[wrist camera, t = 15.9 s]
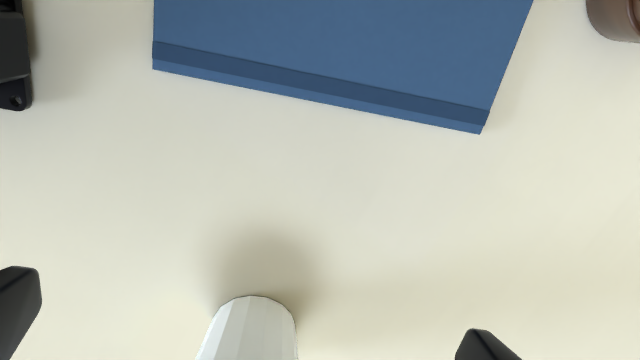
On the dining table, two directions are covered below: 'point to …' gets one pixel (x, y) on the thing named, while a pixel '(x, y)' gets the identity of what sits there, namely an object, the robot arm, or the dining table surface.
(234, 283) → the dining table surface
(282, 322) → the white cylinder
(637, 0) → the pepper mill
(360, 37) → the napkin
